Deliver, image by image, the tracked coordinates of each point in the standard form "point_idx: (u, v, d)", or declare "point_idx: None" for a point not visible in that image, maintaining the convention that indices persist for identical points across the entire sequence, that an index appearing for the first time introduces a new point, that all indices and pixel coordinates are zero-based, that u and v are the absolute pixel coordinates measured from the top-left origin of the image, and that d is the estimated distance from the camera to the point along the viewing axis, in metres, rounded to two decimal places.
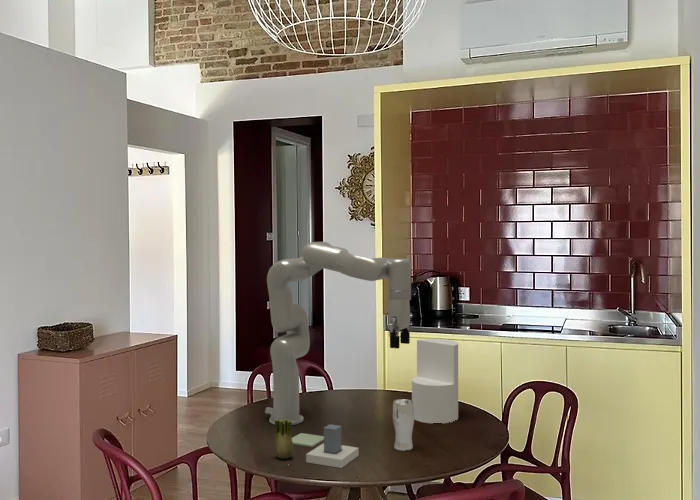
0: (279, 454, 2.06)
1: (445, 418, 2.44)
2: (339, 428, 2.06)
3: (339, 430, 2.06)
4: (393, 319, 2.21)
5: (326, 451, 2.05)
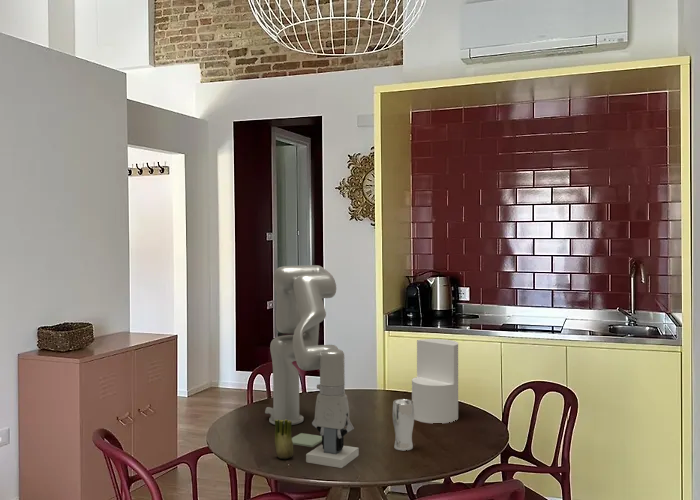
0: (279, 454, 2.06)
1: (445, 418, 2.44)
2: None
3: None
4: (348, 419, 2.04)
5: (326, 451, 2.05)
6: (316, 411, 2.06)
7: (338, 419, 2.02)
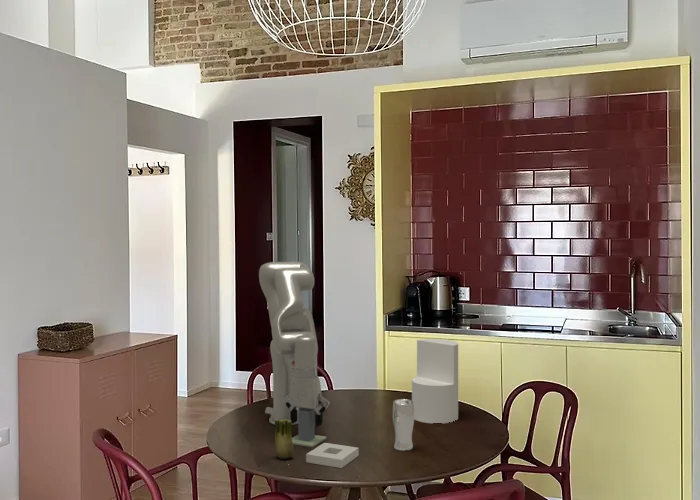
0: (279, 454, 2.06)
1: (445, 418, 2.44)
2: (312, 410, 2.24)
3: (312, 412, 2.24)
4: (322, 397, 2.21)
5: (300, 432, 2.23)
6: (291, 392, 2.23)
7: (311, 399, 2.20)
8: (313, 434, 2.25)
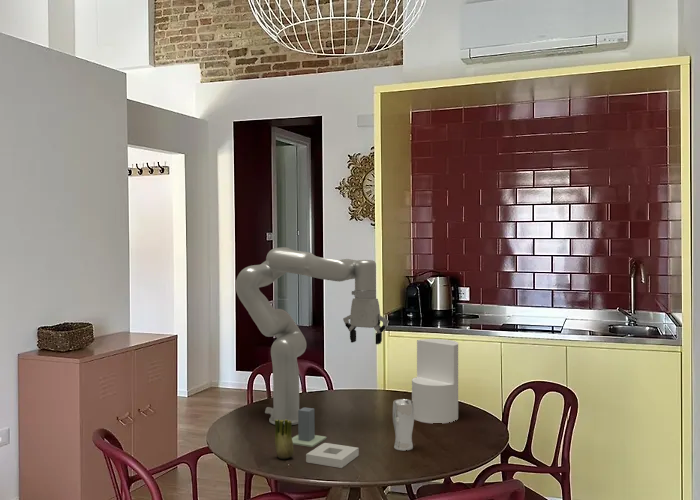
0: (279, 454, 2.06)
1: (445, 418, 2.44)
2: (312, 410, 2.24)
3: (312, 412, 2.24)
4: (381, 316, 2.35)
5: (300, 432, 2.23)
6: (351, 313, 2.37)
7: (371, 319, 2.34)
8: (313, 434, 2.25)
